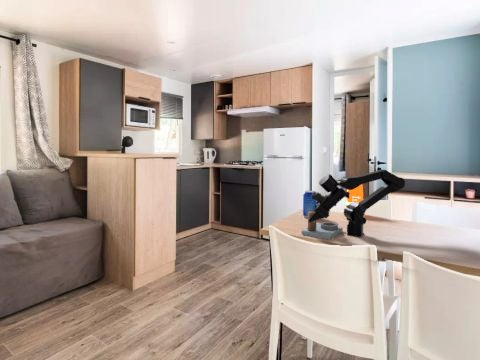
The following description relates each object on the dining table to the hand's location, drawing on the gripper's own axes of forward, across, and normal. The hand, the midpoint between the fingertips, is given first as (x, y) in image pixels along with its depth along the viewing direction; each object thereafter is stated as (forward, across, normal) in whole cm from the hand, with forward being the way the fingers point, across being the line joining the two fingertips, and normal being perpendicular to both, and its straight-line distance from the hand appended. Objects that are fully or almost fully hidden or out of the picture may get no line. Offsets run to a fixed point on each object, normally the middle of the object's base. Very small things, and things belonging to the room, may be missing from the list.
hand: (309, 220), depth 147 cm
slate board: (0, -4, +10) cm, 10 cm away
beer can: (+5, -38, +5) cm, 39 cm away
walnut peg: (+3, 0, +5) cm, 5 cm away
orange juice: (-14, -51, +24) cm, 58 cm away
